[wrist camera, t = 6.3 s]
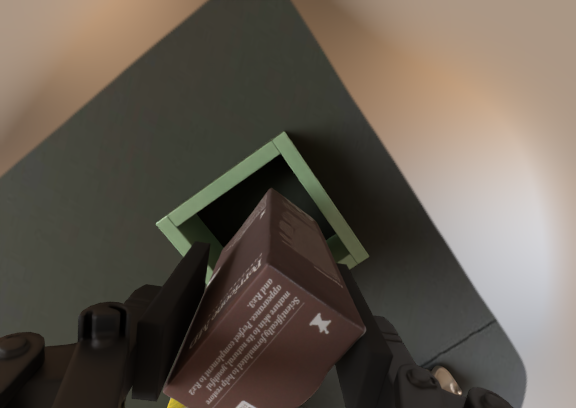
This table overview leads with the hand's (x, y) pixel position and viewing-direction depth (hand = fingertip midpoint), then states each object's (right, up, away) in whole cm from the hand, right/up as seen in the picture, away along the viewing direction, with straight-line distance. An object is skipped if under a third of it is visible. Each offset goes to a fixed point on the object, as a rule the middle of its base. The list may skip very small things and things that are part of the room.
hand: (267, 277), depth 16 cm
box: (0, +2, +6) cm, 6 cm away
